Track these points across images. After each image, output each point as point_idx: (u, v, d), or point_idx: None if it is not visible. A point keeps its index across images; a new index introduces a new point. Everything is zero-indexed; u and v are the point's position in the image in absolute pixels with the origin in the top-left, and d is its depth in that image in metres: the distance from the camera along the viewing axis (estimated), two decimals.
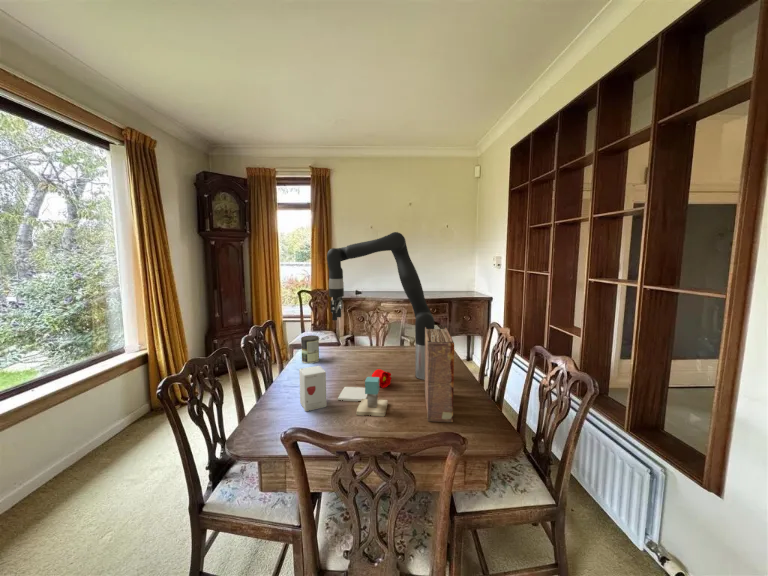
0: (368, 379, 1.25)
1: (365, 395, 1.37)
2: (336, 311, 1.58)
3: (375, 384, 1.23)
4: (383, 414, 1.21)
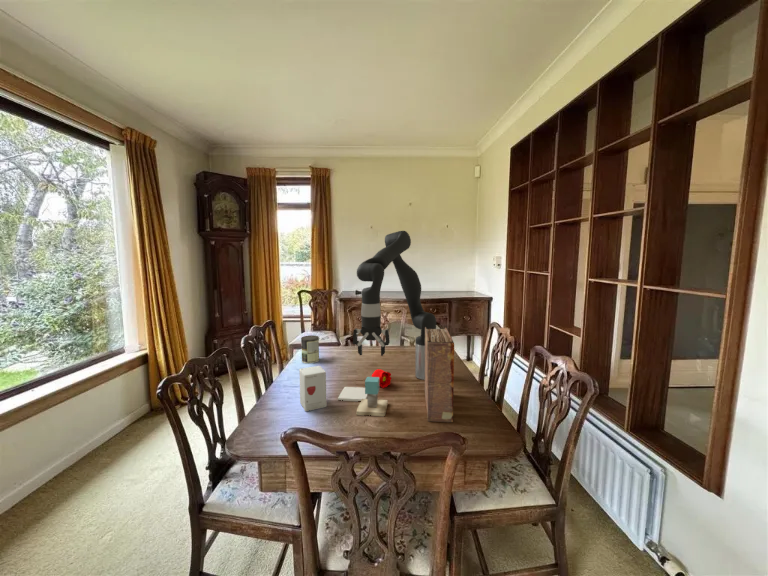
0: (368, 379, 1.25)
1: (365, 395, 1.37)
2: None
3: (375, 384, 1.23)
4: (383, 414, 1.21)
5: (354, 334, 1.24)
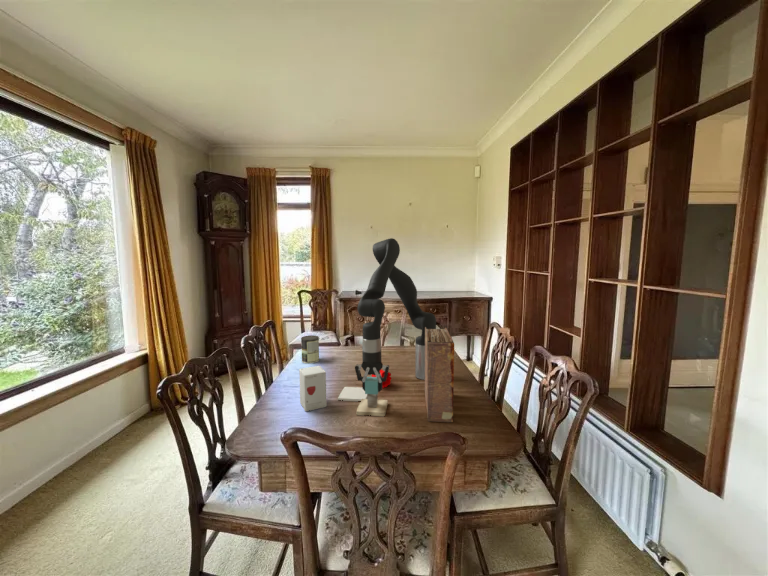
0: (368, 379, 1.25)
1: (365, 395, 1.37)
2: None
3: (375, 384, 1.23)
4: (383, 414, 1.21)
5: (356, 371, 1.25)
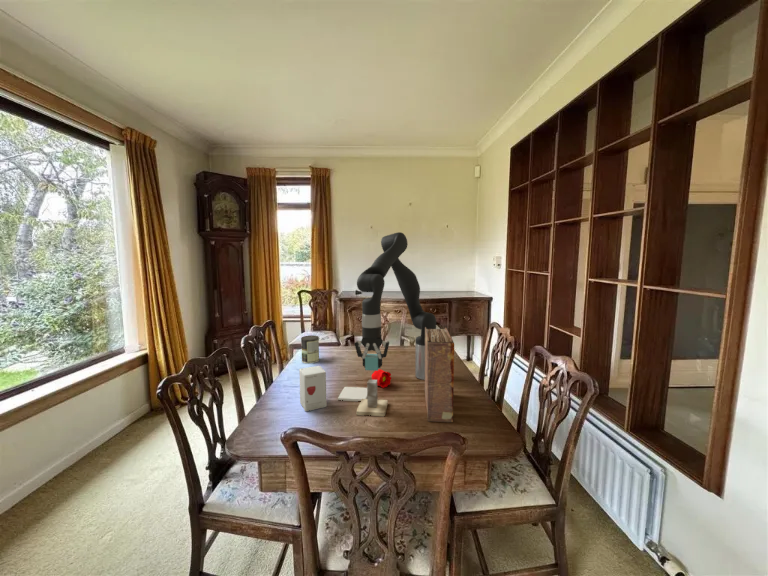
0: (368, 355, 1.24)
1: (365, 395, 1.37)
2: None
3: (376, 361, 1.22)
4: (383, 414, 1.21)
5: (356, 347, 1.24)
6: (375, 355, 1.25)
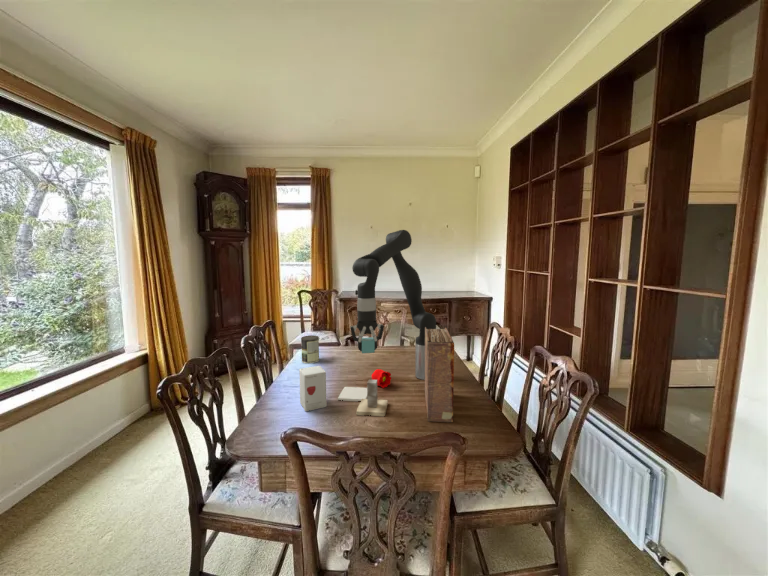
0: (363, 339, 1.27)
1: (365, 395, 1.37)
2: None
3: (372, 343, 1.26)
4: (383, 414, 1.21)
5: (352, 331, 1.25)
6: (370, 338, 1.28)
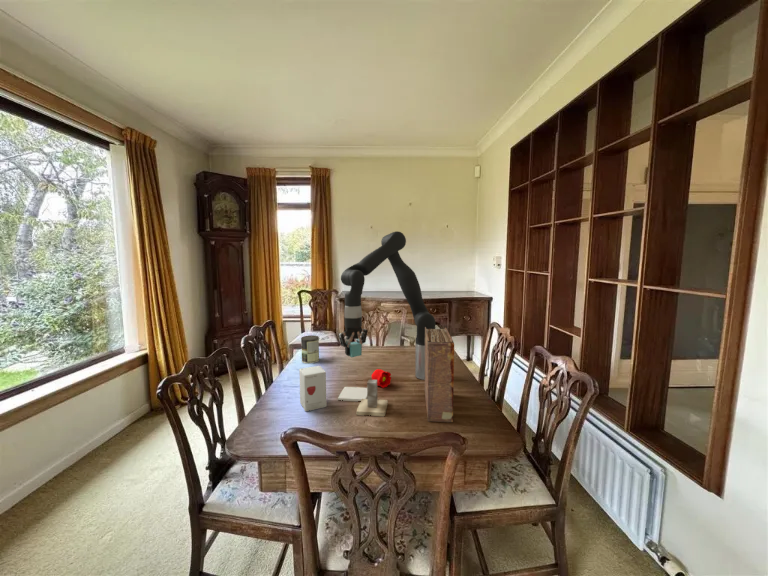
0: (350, 344, 1.37)
1: (365, 395, 1.37)
2: None
3: (360, 347, 1.37)
4: (383, 414, 1.21)
5: (342, 338, 1.33)
6: (355, 343, 1.39)
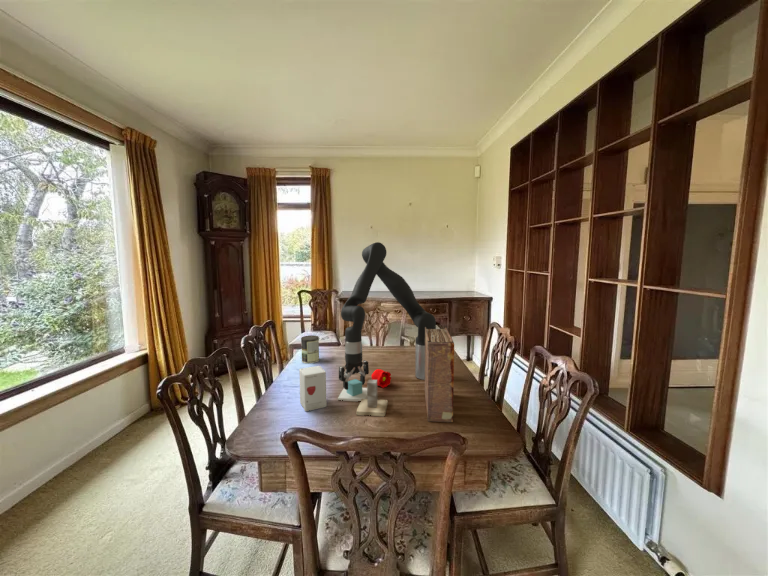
0: (351, 383, 1.38)
1: (365, 395, 1.37)
2: None
3: (360, 385, 1.39)
4: (383, 414, 1.21)
5: (342, 372, 1.34)
6: (355, 380, 1.40)
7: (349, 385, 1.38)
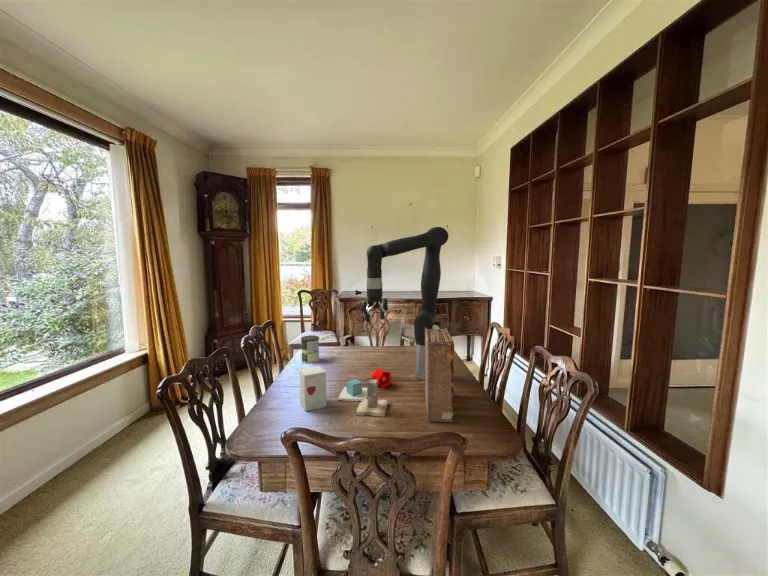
0: (351, 383, 1.38)
1: (365, 395, 1.37)
2: None
3: (360, 385, 1.39)
4: (383, 414, 1.21)
5: (365, 305, 1.47)
6: (355, 380, 1.40)
7: (349, 385, 1.38)
